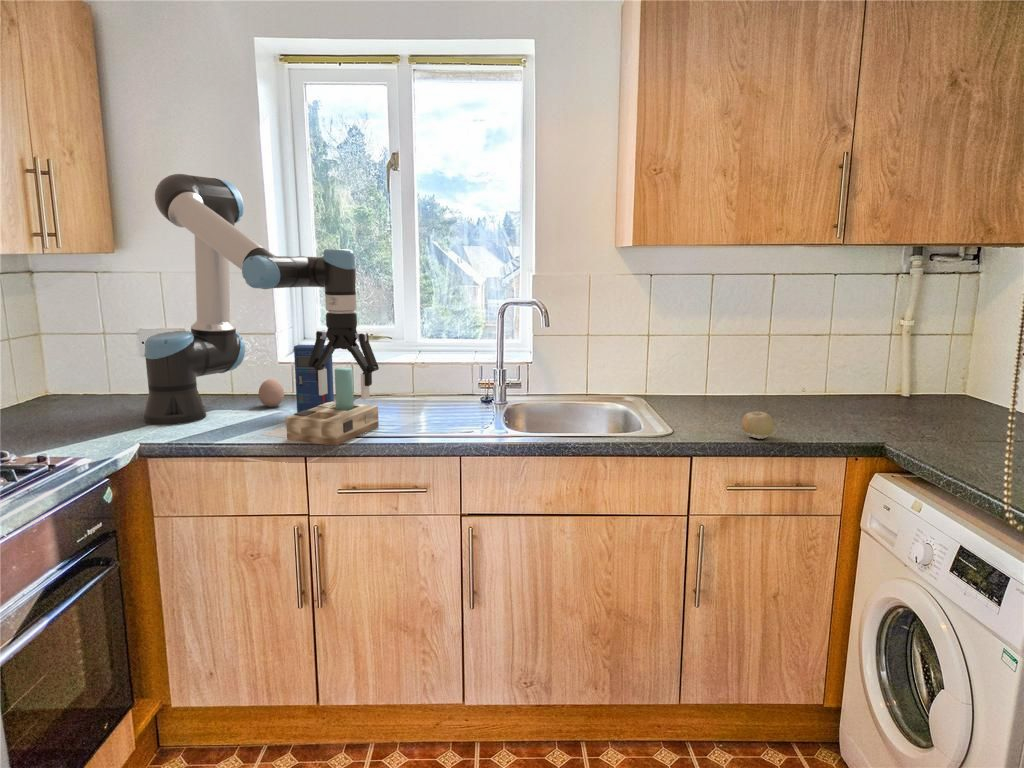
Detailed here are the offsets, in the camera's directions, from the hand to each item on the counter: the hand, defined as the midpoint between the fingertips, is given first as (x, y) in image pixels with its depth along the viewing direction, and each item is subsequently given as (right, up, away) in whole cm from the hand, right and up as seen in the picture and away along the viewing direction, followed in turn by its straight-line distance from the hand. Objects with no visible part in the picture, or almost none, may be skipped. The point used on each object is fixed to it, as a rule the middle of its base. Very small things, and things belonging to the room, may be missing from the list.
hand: (344, 396), depth 166 cm
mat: (-14, -9, -3) cm, 18 cm away
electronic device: (-12, -6, +16) cm, 21 cm away
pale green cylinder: (0, -7, +1) cm, 7 cm away
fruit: (+106, -11, 0) cm, 107 cm away
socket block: (-2, -10, -3) cm, 10 cm away
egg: (-28, -4, +27) cm, 39 cm away
